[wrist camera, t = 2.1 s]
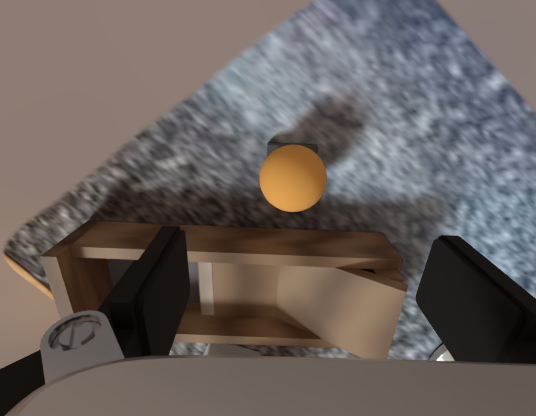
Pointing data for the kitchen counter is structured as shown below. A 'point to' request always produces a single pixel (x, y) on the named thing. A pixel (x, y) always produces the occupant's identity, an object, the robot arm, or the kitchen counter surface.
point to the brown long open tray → (250, 283)
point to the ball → (293, 178)
